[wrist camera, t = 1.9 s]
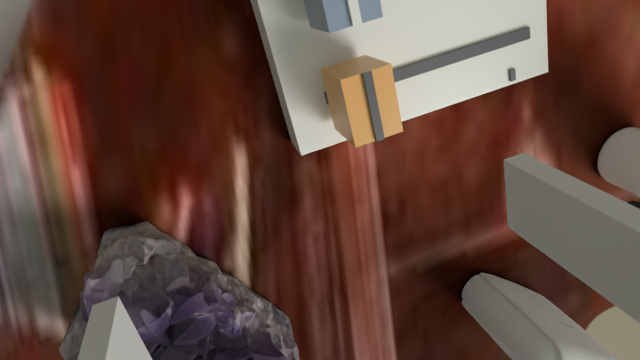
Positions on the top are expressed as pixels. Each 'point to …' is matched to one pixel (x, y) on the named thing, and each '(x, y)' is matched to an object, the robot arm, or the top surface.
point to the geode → (179, 302)
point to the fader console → (402, 55)
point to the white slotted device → (527, 322)
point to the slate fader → (341, 13)
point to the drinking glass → (622, 160)
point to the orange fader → (362, 99)
